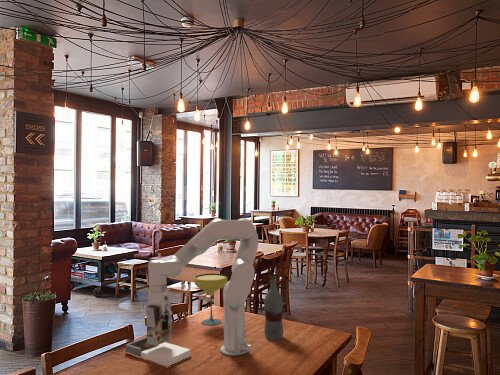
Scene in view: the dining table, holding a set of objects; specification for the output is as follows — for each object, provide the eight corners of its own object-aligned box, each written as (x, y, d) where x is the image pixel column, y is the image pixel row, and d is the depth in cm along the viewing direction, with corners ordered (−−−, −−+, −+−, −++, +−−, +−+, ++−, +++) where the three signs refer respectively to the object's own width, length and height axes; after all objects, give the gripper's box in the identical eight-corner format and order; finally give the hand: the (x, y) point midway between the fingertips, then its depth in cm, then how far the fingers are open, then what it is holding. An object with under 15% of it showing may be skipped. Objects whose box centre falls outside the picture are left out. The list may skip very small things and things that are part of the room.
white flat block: (190, 356, 185) (190, 349, 185) (167, 367, 174) (166, 360, 174) (165, 348, 195) (164, 342, 195) (141, 358, 183) (140, 351, 183)
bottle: (262, 340, 204) (262, 278, 204) (266, 333, 213) (265, 274, 213) (281, 341, 202) (281, 278, 202) (284, 335, 211) (284, 275, 211)
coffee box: (156, 345, 182) (155, 308, 182) (146, 342, 185) (145, 306, 185) (172, 339, 189) (171, 303, 189) (163, 336, 193) (161, 301, 193)
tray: (164, 348, 195) (164, 339, 195) (140, 358, 183) (140, 349, 183) (149, 344, 201) (149, 335, 201) (125, 353, 189) (125, 344, 189)
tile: (159, 344, 191) (157, 337, 192) (148, 348, 186) (146, 341, 187) (151, 347, 194) (149, 341, 195) (140, 351, 190) (138, 345, 191)
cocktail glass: (234, 320, 235) (233, 275, 235) (215, 329, 220) (214, 281, 220) (207, 315, 245) (207, 272, 245) (188, 324, 229) (187, 278, 229)
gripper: (178, 288, 185) (179, 328, 185) (151, 284, 195) (152, 322, 195) (165, 292, 179) (167, 334, 179) (138, 287, 189) (139, 327, 189)
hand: (159, 327), depth 187 cm, fingers closed on coffee box, 6 cm apart
